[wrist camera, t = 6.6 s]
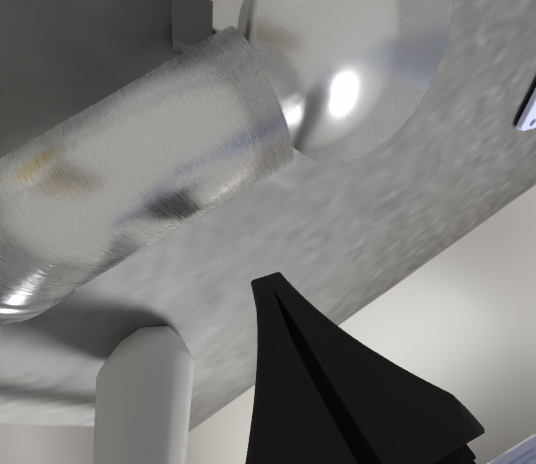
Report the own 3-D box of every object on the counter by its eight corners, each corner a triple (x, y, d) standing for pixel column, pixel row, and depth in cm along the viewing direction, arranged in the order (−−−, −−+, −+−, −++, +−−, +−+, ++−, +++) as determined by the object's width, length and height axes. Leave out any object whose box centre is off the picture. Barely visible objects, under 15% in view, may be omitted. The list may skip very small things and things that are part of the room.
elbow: (377, -117, 7) (564, -287, 3) (389, 101, 10) (483, 114, 7) (-85, 150, 6) (-325, 223, 3) (98, 271, 10) (67, 359, 7)
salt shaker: (83, 352, 16) (-75, 859, 6) (150, 305, 15) (108, 755, 5) (152, 372, 19) (130, 700, 9) (206, 334, 19) (246, 632, 9)
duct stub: (381, -84, 9) (476, -154, 6) (354, 137, 13) (401, 153, 11) (135, -87, 7) (112, -190, 4) (205, 169, 12) (215, 199, 9)
